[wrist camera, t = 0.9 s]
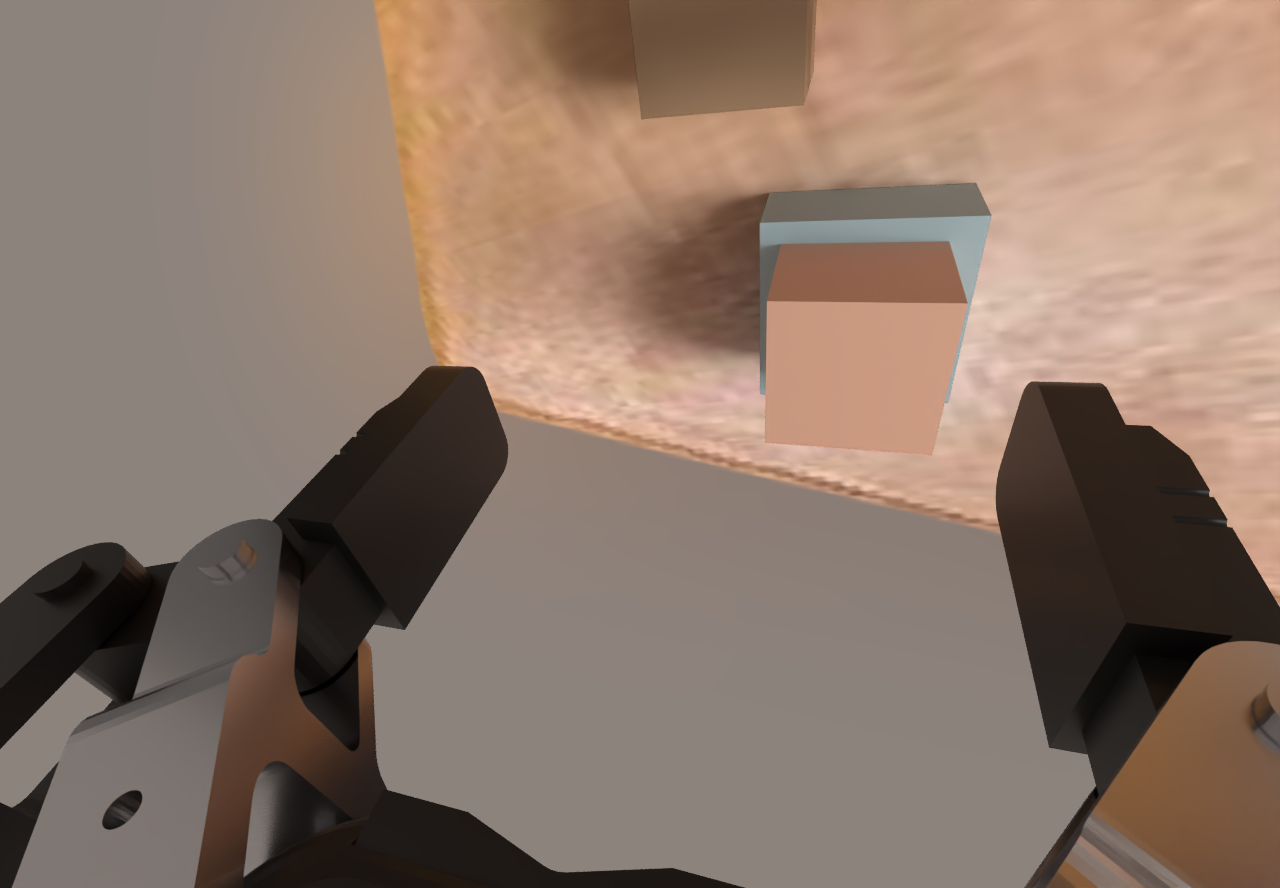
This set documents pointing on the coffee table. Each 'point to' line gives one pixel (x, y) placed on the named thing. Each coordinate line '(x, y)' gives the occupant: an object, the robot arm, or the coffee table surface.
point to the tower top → (861, 344)
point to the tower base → (875, 230)
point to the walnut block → (721, 54)
